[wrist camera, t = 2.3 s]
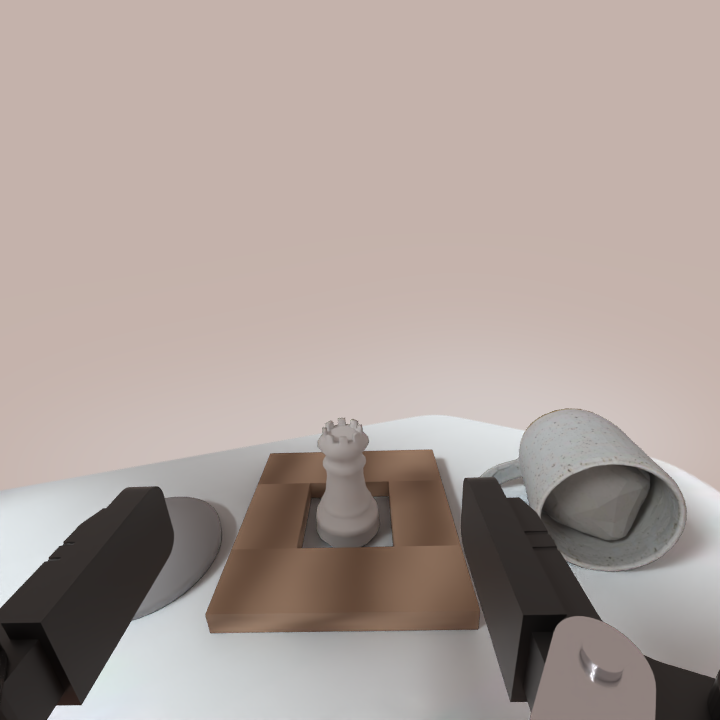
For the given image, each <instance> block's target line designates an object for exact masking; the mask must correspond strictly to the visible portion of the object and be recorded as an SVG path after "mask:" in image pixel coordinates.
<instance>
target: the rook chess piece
mask: <svg viewBox="0 0 720 720" xmlns="http://www.w3.org/2000/svg"><path fill="white" fill-rule="evenodd" d="M322 429H323V431H322V433H323V434H322V435H321V437H320V438H319V439H318V448H319V449H320V450H321V452H323V453H324V454H325V455H326V456H325V458H324V460H323V467H324V468H325V469H326V471H327V481H326V490H325V493H324V495H323V496H322V499H321V501H320V503H319V505H318V507H317V515H316V520H317V524H316V530H317V532H318V534H319V536H320V538H321V539H322V540H323V541H325V542H326V543H328V544H329V545H330V546H332V547H334V548H342V547H361V546H363V545H365V544H367V543H368V542H369V541H370V540H371V539H372V538H373V537H374V536H375V535H376V534H377V532H378V529H379V526H380V520H379V511H378V506H377V503H376V500H375V499H374V498H373V497H372V495H371V493H370V491H369V490H368V489H367V487H366V484H365V479H364V474H363V467H364V465H365V463H366V458H365V456H364V455H363V454H362V452H363V451H364V450H365V448H366V447H367V445H368V443H369V439H368V436H367V435H366V434H365V433H364V432H363V429H362V425H358V421H357V420H354V419H352V420H350V424H346V423H345V418H338V425H335V426H334V424H333V422H332V421H329V422H328V423H326V428H324V427H323V428H322Z"/></svg>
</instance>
